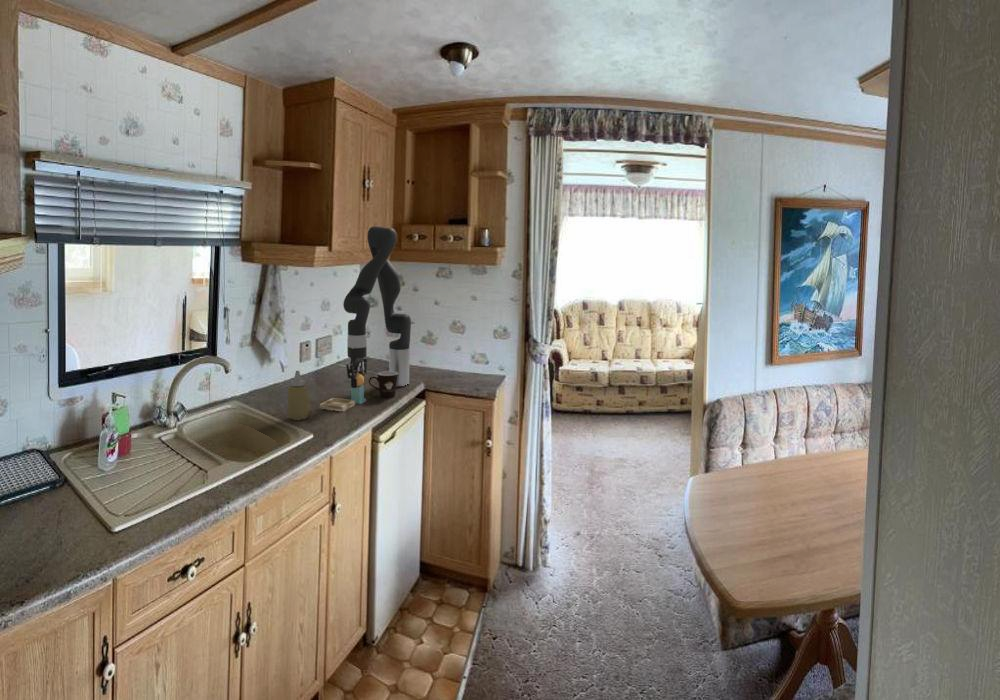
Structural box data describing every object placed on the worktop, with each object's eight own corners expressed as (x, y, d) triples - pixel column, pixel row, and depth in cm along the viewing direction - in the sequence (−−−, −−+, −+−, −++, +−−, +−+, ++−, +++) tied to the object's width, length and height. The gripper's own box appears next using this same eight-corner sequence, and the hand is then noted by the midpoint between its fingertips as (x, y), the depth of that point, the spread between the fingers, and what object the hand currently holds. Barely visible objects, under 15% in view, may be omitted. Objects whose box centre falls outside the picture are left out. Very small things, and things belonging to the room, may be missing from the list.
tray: (332, 402, 233) (332, 397, 233) (355, 404, 231) (355, 400, 231) (319, 409, 223) (319, 404, 223) (343, 411, 221) (343, 406, 221)
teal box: (354, 400, 238) (354, 383, 237) (365, 401, 237) (365, 384, 236) (349, 403, 233) (348, 386, 232) (360, 404, 232) (360, 387, 231)
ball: (354, 384, 237) (354, 371, 236) (366, 385, 236) (366, 372, 235) (348, 387, 232) (347, 374, 231) (360, 388, 231) (360, 375, 230)
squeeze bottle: (282, 419, 209) (280, 371, 206) (297, 414, 216) (296, 367, 213) (300, 422, 206) (298, 374, 203) (315, 416, 213) (313, 370, 210)
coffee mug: (400, 394, 250) (400, 371, 248) (394, 399, 241) (394, 376, 240) (374, 392, 251) (374, 370, 249) (368, 397, 242) (367, 374, 241)
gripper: (356, 342, 238) (357, 381, 241) (339, 347, 225) (340, 389, 228) (373, 343, 237) (373, 382, 240) (357, 349, 223) (357, 391, 226)
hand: (357, 385), depth 234 cm, fingers closed on ball, 5 cm apart
